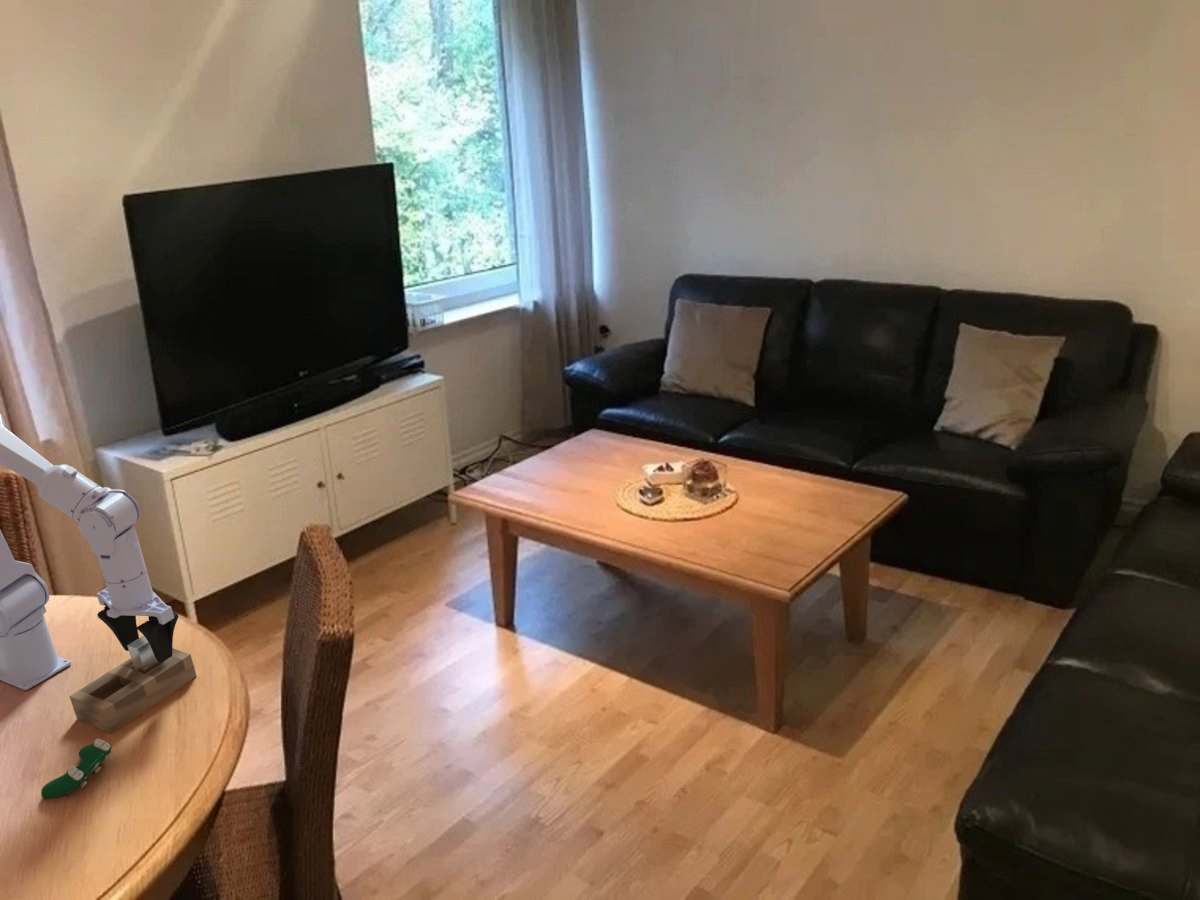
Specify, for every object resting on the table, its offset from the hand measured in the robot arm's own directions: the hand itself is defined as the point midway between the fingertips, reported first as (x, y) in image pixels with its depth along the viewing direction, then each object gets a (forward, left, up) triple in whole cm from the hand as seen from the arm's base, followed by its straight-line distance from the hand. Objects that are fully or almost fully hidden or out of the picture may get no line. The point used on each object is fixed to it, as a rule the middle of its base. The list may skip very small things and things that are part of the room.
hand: (148, 653), depth 158 cm
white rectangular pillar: (0, 0, -5) cm, 5 cm away
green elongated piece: (+9, -19, -6) cm, 22 cm away
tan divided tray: (0, -4, -6) cm, 7 cm away
